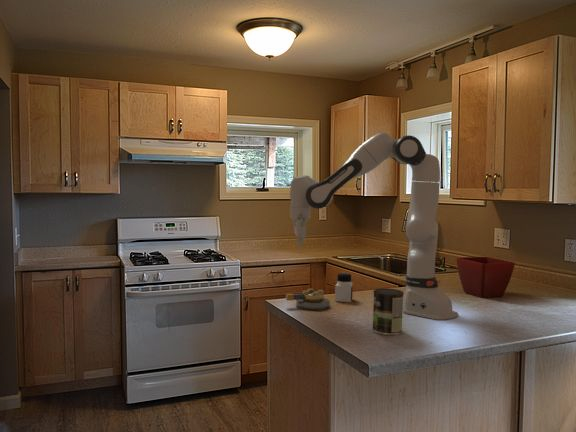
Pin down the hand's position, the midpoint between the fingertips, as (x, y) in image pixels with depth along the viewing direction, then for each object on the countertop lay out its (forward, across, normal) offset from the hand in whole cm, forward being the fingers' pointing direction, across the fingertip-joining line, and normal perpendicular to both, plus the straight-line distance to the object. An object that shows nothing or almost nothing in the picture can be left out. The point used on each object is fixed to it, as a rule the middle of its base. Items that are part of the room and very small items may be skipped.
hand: (299, 246), depth 211 cm
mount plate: (+25, -4, -6) cm, 26 cm away
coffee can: (+25, -40, -28) cm, 55 cm away
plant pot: (+25, +21, -90) cm, 96 cm away
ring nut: (+22, -5, -2) cm, 22 cm away
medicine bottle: (+25, +7, -20) cm, 33 cm away
